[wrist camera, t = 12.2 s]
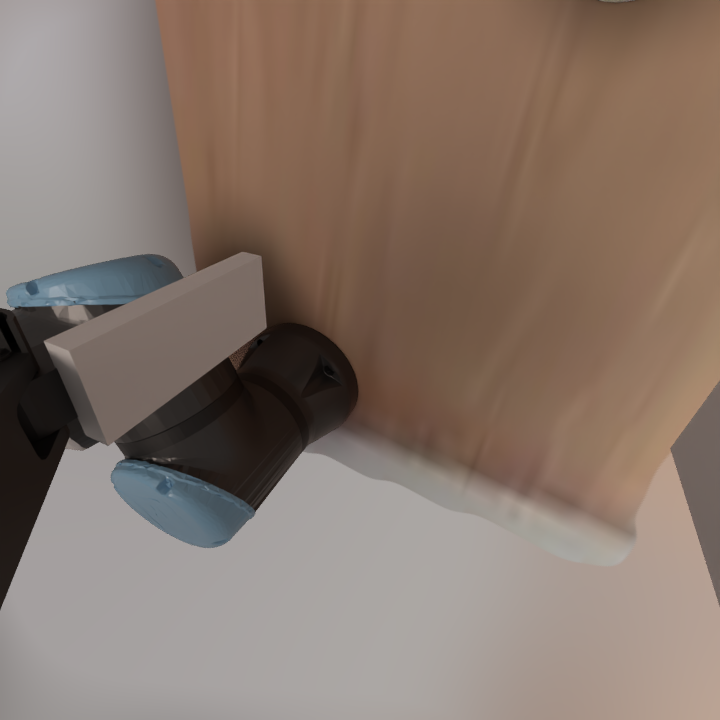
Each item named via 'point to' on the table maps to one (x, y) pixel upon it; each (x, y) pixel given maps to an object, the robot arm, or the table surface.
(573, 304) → the table surface
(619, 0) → the coffee can
